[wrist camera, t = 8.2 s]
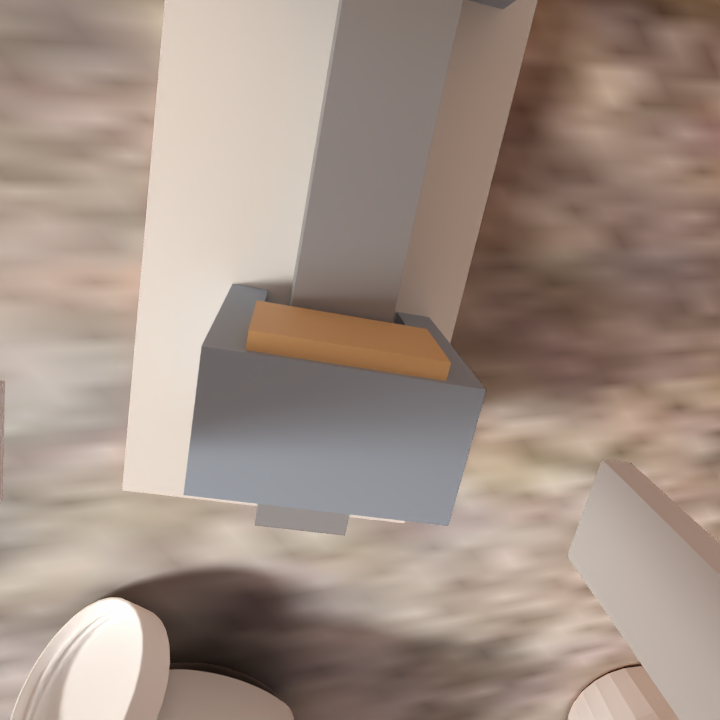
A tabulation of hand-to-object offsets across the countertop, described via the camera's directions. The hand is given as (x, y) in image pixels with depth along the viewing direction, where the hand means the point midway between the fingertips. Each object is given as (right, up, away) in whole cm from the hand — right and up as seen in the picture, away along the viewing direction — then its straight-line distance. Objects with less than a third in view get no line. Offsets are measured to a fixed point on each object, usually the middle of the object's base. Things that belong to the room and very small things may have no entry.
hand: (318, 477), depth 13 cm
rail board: (0, +10, +7) cm, 12 cm away
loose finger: (0, +3, +8) cm, 9 cm away
